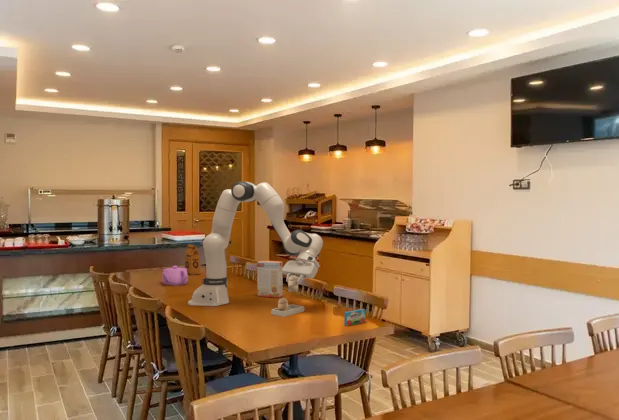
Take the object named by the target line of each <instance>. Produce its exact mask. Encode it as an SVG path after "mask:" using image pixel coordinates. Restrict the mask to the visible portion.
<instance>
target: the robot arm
mask: <svg viewBox="0 0 619 420" xmlns="http://www.w3.org/2000/svg"><path fill="white" fill-rule="evenodd" d="M255 201H257V202H258V204H259V205H260V207H261V208H262V210H263V211H264V212H265V214H266V216H267V217H268V219H269V221H270V224H271V226H272V227H273V229H274V230H275V233H276V234H277V236H278V238H279V239H280V241H281V242H282V249H283V250H284V253H286V254H287V255H289V256H292V257H295V256H297V257H296V258H295V259H294V258H293V259H290V260H288V261H286V263H284V266H282V272H283V275H285V276H286V280H285V281H286V282H287V283H288V279H289V277H290V276H292V275H295V276H296V277H297V278H298V279H296V283H298V285H299V284H300V283H301V282H302V281H303V280H305V278H307V279H314V278H315V277H316V275H317V273H318V271H319V269H320V267H321V265H320V264H319V262H318V260H317V259H316V257H318V255H319V254H320V252H321V250H322V248H323V245H324V240H323V239H322V237H321V235H319V234H318V233H309V232H305V231H304V230H302V229H294V230H293V231H292V232H290V230H289V229H288V227H287V225H286V223H285V221H284V220H285V219H284V214H285V213H284V212H285V203H284V201H283V199H282V198H281V196H280V195H279V194H278V193H277V191H276V190H275V189H274V188H273V187H272V185H270V183H268V182H265V181H264V182H263V181H262V182H260V183H258V184H256V183H253V182H250V181H237V182H235V183H234V184H233V185H232V187H231V189H230V188H229V189H228V188H227V189H224V190H223V191H222V193H221V194H220V196H219V198H218V201H217V204H216V206H215V211H214V214H213V218H212V226H211V231H210V233H209V234H207V235H206V236H205V237H204V239H203V241H202V247H203V249H204V250H203V251H204V257H205V263H206V264H205V265H206V266H205V267H206V270H205V272H206V274H205V276H203V277H202V284H201V285H200V286H199V287H198V288H196V289H195V290H194V291H193V292H192V296H191V299H189V300H188V301H187V305H188V306H196V307H197V306H199V307H200V306H203V307H204V306H205V307H218V306H221V305H226V304H229V303H230V299H229V298H230V297H229V295H228V281H229V279H228V277H227V269H228V268H227V260H226V254H225V253H226V252H225V249H227V247H228V245H229V244H230V239H231V233H232V227H233V222H234V219H235V216H236V213H237V209H238V206H239V204H240V203H253V202H255Z"/></svg>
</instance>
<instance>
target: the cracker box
mask: <svg viewBox="0 0 619 420" xmlns="http://www.w3.org/2000/svg"><path fill="white" fill-rule="evenodd" d="M256 263H257V266H256V267H257V268H256V269H257V274H256V275H257V282H256V283H257V286H256V287H257V297H264V298H277V299H280V298H283V295H284V294H283V289H284V288H283V287H284V285H283V279H284V278H283V275H284V274H283V272H282V268H283V261H281V260H280V261H278V260H259V261H257V262H256Z"/></svg>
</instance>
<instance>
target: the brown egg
mask: <svg viewBox="0 0 619 420" xmlns="http://www.w3.org/2000/svg"><path fill="white" fill-rule="evenodd" d="M288 305H289V301H288V299H287V298H285V297H280V298H278V301H277V308H278V311H283V312H284V311H288Z"/></svg>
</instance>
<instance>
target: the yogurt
mask: <svg viewBox="0 0 619 420" xmlns="http://www.w3.org/2000/svg"><path fill="white" fill-rule="evenodd" d="M343 322H344V326H347V327H348V325H349V326H354V325H357V324H358V325H359V324H363V323H366V309H365V308H359V309H355V310H349V311H345V312H344V321H343Z"/></svg>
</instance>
